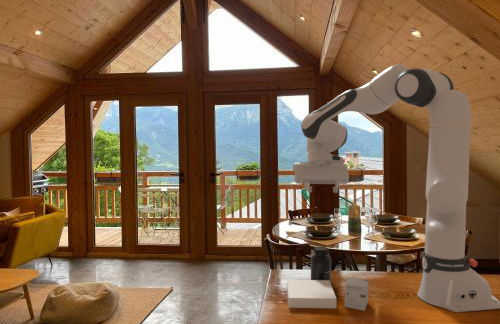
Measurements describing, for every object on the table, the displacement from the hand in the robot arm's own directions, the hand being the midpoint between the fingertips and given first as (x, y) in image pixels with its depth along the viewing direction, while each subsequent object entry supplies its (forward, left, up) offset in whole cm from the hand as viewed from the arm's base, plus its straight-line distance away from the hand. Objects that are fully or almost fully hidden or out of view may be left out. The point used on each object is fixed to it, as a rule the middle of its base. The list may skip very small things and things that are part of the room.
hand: (322, 191), depth 145 cm
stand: (+7, +24, -30) cm, 39 cm away
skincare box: (-7, +29, -30) cm, 42 cm away
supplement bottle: (+2, +11, -30) cm, 32 cm away
